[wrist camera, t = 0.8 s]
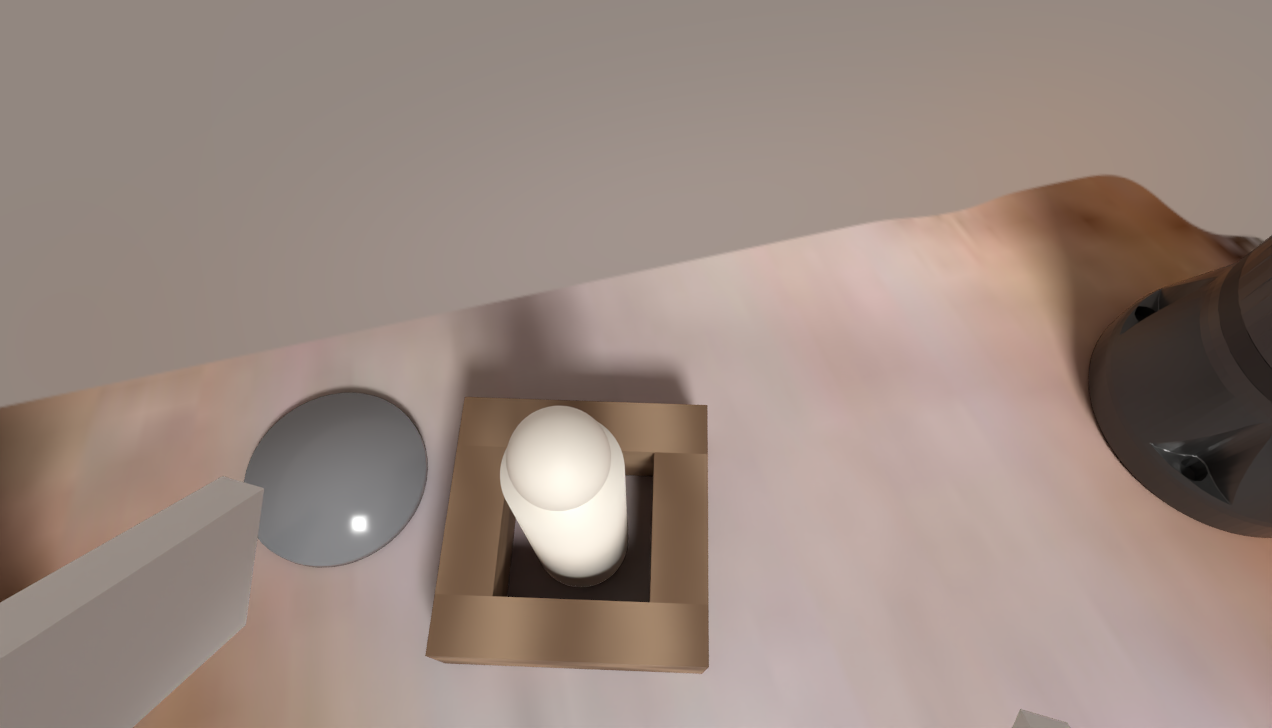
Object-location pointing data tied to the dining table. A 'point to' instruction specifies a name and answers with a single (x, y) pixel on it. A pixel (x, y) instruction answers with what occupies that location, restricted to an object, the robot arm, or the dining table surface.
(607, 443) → the pepper mill
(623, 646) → the walnut holder
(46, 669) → the robot arm
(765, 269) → the dining table surface
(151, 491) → the dining table surface
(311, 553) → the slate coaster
